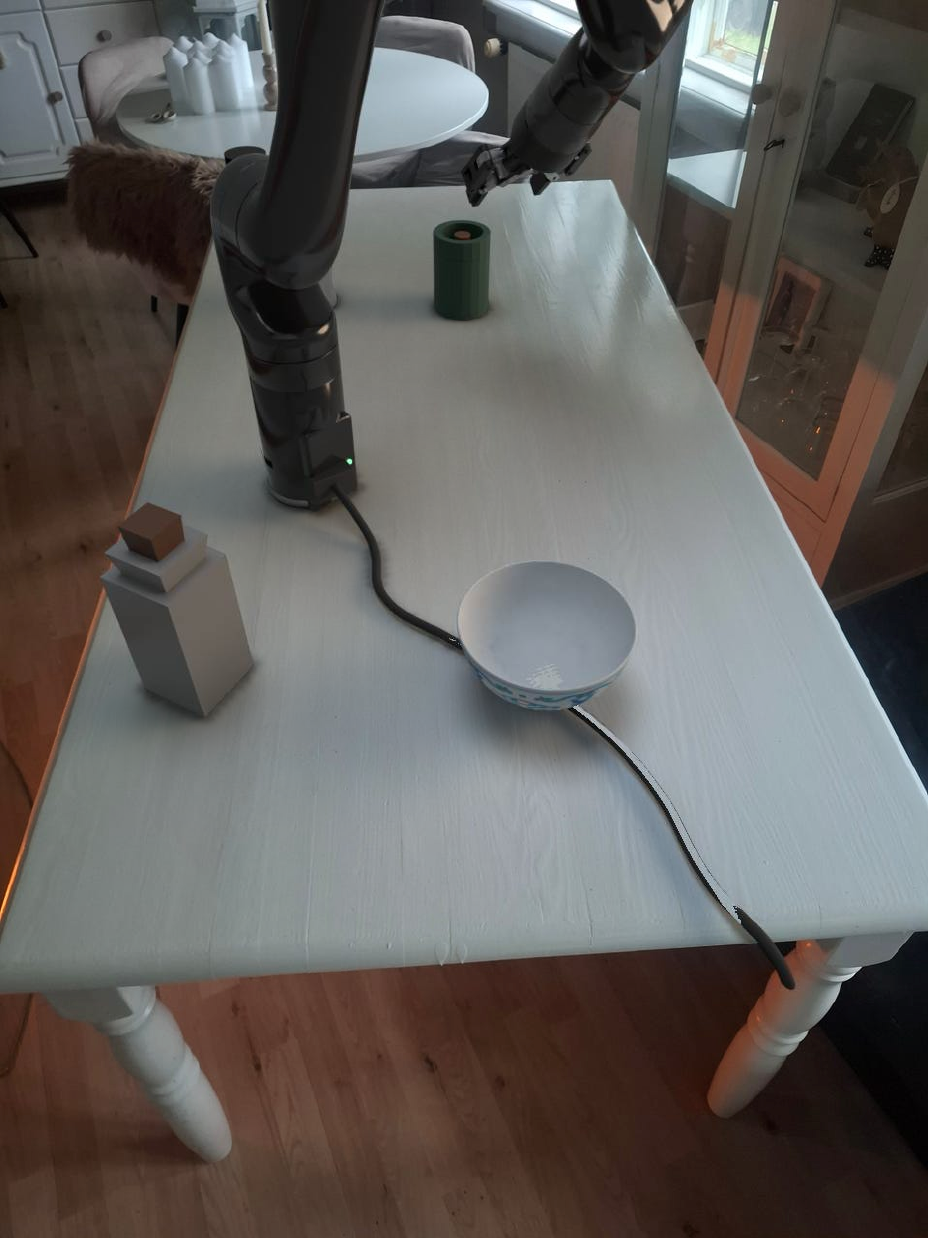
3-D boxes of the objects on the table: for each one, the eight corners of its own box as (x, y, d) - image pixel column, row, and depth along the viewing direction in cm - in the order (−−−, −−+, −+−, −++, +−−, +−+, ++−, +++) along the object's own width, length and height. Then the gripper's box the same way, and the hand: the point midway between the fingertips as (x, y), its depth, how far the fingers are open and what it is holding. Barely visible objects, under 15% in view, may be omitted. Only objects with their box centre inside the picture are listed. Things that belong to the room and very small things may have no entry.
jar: (498, 307, 126) (502, 231, 118) (461, 325, 122) (462, 248, 114) (460, 290, 130) (461, 214, 122) (423, 307, 126) (421, 230, 118)
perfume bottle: (144, 688, 76) (81, 532, 63) (195, 638, 80) (145, 482, 67) (205, 717, 74) (152, 562, 61) (253, 664, 78) (214, 509, 65)
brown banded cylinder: (472, 303, 125) (474, 234, 118) (461, 309, 124) (462, 239, 117) (461, 298, 127) (462, 229, 119) (450, 303, 125) (450, 234, 118)
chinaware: (522, 596, 85) (527, 537, 79) (655, 672, 78) (671, 612, 72) (421, 687, 76) (419, 628, 71) (560, 780, 70) (570, 722, 64)
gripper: (607, 72, 91) (544, 154, 107) (489, 88, 87) (440, 171, 102) (628, 142, 92) (562, 214, 107) (511, 161, 87) (460, 233, 103)
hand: (503, 193), depth 105 cm, fingers open, 8 cm apart
